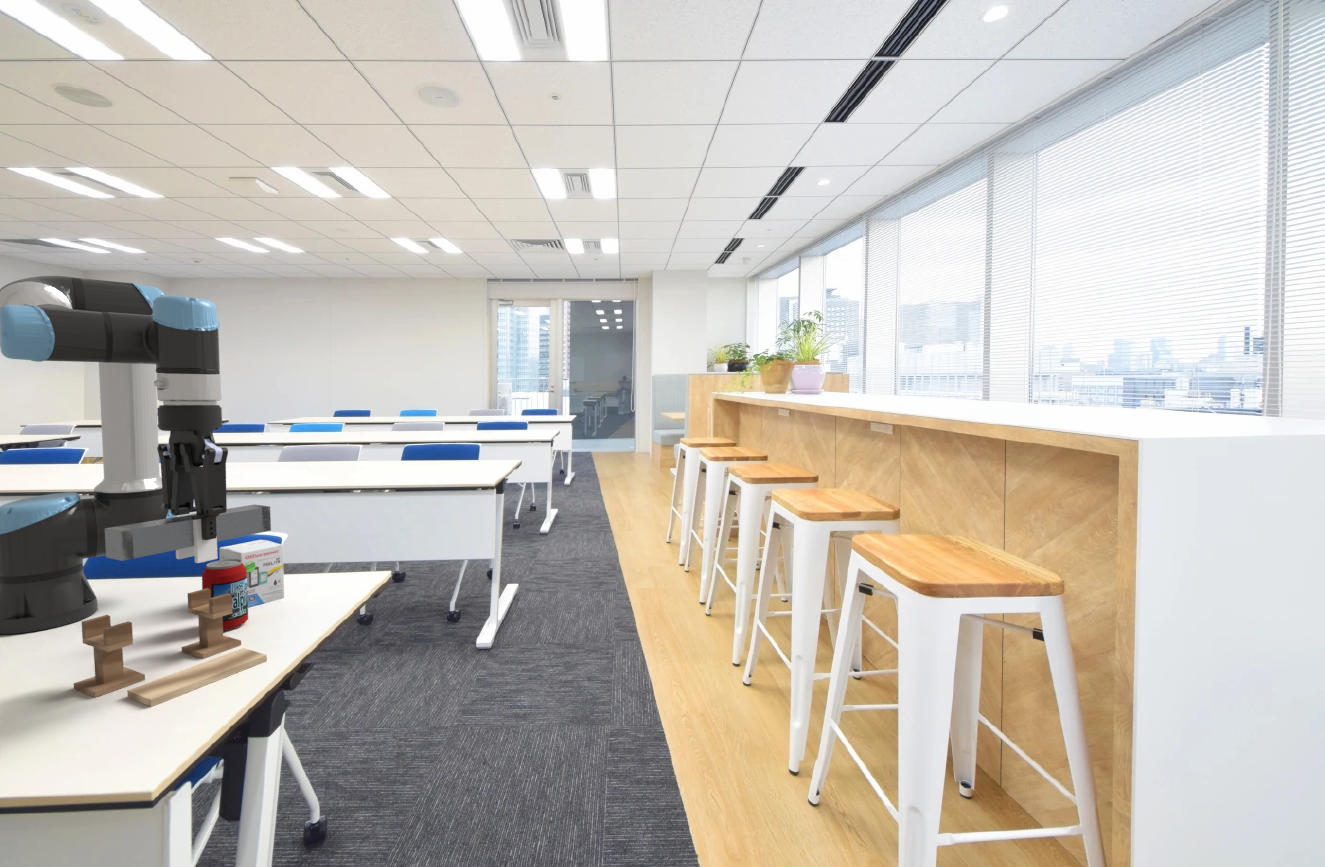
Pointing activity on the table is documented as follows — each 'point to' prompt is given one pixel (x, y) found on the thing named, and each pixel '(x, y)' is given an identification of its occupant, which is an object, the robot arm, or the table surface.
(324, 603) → the table surface
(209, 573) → the beverage can
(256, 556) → the ink box
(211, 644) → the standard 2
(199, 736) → the table surface
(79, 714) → the table surface
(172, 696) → the light wooden board
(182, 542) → the rail
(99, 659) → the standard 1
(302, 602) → the table surface
